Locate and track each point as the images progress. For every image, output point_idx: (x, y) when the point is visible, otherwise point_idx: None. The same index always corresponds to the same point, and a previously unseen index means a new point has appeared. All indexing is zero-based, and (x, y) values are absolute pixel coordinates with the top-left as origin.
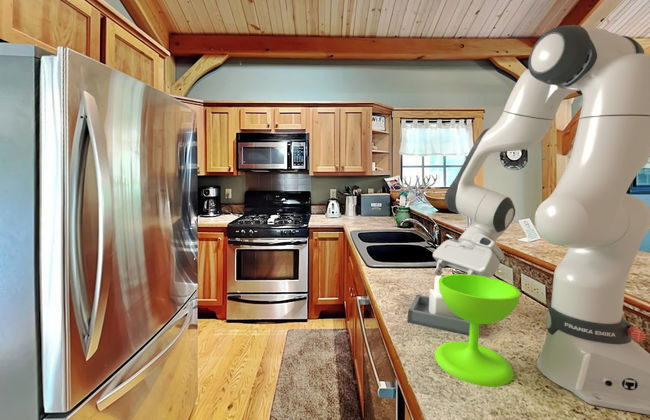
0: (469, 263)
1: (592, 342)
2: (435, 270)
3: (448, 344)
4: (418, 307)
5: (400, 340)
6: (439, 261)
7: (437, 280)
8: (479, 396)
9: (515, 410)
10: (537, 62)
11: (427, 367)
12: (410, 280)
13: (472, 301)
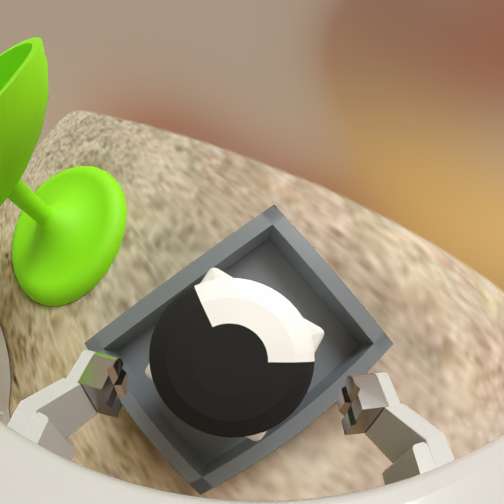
0: (17, 478)
1: None
2: (381, 381)
3: (105, 216)
4: (338, 322)
5: (197, 152)
6: (434, 450)
7: (237, 278)
8: (35, 175)
9: None
10: None
11: (106, 147)
12: (498, 431)
13: None
